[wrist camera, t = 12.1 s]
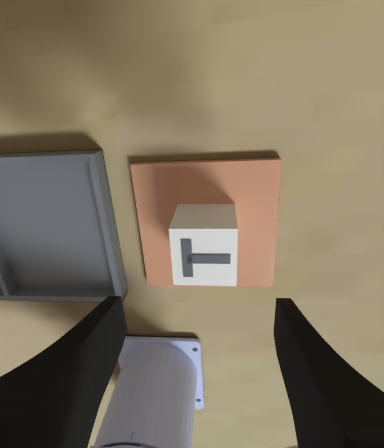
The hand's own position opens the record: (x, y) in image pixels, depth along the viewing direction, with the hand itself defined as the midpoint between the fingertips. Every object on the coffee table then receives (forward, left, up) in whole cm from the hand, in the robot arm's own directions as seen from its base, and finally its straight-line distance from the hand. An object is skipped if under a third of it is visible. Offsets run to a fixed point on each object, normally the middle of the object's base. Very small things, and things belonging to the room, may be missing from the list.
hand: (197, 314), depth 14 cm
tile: (0, 0, -9) cm, 9 cm away
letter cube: (0, 0, -9) cm, 9 cm away
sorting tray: (0, +17, -9) cm, 19 cm away
